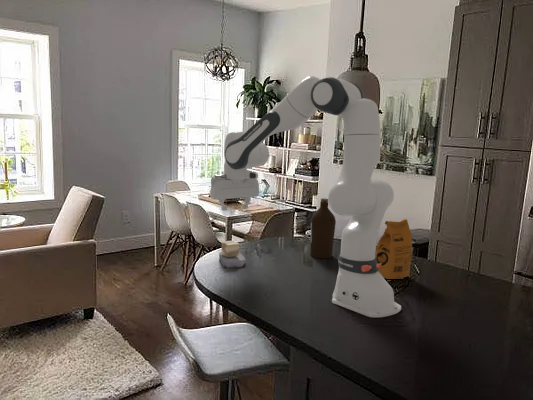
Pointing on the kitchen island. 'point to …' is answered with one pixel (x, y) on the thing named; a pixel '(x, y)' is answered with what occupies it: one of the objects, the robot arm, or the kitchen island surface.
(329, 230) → the olive oil
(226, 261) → the stone block
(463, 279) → the kitchen island surface
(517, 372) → the kitchen island surface
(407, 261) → the coffee package
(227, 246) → the maple block
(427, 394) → the kitchen island surface
